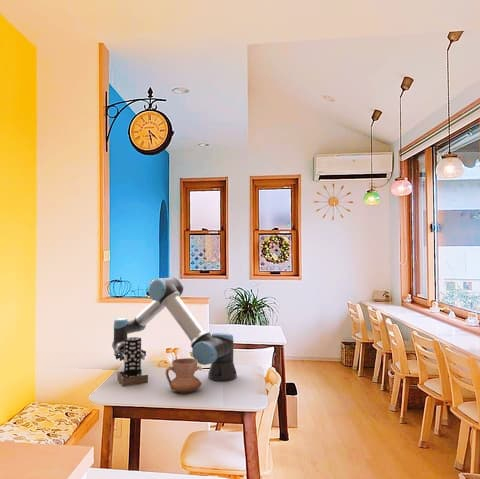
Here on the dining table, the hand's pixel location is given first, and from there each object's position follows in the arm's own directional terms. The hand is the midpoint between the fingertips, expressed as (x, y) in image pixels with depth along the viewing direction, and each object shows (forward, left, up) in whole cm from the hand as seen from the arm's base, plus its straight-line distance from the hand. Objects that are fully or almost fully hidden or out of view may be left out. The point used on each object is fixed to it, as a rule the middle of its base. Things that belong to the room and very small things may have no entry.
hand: (135, 358), depth 204 cm
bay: (+5, 0, -13) cm, 14 cm away
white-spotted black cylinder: (+5, 0, -11) cm, 12 cm away
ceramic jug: (-21, -18, -13) cm, 31 cm away
